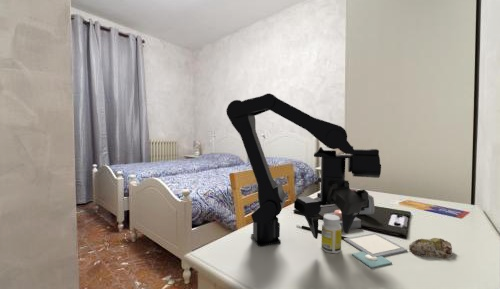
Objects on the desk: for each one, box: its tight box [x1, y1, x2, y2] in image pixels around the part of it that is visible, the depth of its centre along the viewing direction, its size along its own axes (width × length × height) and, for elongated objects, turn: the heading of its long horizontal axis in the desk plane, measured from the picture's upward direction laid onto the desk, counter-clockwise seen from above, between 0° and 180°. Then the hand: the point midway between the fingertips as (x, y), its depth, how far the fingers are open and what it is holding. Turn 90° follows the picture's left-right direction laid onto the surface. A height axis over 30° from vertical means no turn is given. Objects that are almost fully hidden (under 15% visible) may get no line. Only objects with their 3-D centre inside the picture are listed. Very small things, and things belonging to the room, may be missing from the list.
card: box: [351, 251, 393, 269], centre depth 57 cm, size 6×6×1 cm
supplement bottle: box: [321, 214, 342, 254], centre depth 62 cm, size 5×5×8 cm
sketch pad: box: [343, 232, 408, 257], centre depth 64 cm, size 11×10×1 cm
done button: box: [333, 209, 342, 221], centre depth 77 cm, size 4×4×2 cm
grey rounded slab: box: [349, 187, 375, 215], centre depth 89 cm, size 14×3×8 cm, turn 20°
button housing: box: [322, 212, 362, 232], centre depth 77 cm, size 8×8×2 cm
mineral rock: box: [408, 237, 453, 259], centre depth 61 cm, size 11×4×8 cm
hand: (331, 235), depth 62 cm, fingers open, 9 cm apart
